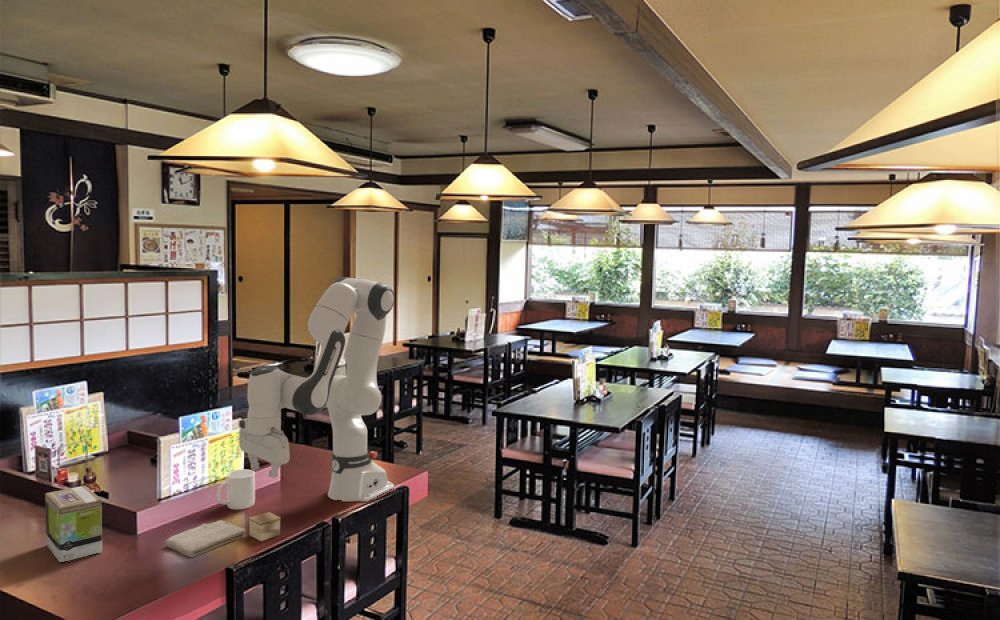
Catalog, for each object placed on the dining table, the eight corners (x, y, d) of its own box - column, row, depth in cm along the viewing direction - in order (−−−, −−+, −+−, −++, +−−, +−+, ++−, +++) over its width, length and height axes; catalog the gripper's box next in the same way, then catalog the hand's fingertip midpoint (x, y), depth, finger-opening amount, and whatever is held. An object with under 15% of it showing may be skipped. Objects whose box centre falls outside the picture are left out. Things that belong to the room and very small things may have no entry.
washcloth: (248, 536, 192) (248, 526, 192) (190, 560, 177) (190, 549, 177) (222, 526, 198) (222, 516, 198) (164, 548, 183) (163, 537, 183)
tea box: (104, 553, 179) (102, 498, 177) (59, 565, 172) (57, 508, 170) (87, 535, 189) (86, 483, 188) (45, 545, 182) (43, 492, 181)
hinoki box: (268, 528, 197) (268, 511, 196) (280, 534, 193) (280, 517, 193) (248, 535, 192) (248, 517, 192) (260, 541, 188) (260, 524, 188)
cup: (260, 504, 214) (260, 473, 213) (224, 515, 205) (223, 483, 204) (246, 498, 220) (245, 467, 219) (210, 508, 210) (210, 476, 209)
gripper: (295, 429, 185) (295, 479, 187) (255, 416, 198) (255, 462, 200) (274, 434, 181) (274, 484, 182) (234, 420, 194) (234, 467, 195)
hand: (264, 473), depth 191 cm, fingers open, 8 cm apart
